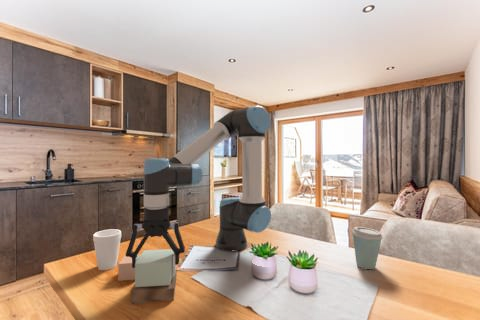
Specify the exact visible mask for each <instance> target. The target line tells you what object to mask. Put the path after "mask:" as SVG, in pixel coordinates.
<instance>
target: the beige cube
mask: <svg viewBox="0 0 480 320" xmlns="http://www.w3.org/2000/svg"><path fill="white" fill-rule="evenodd" d="M141 254H142V253H140V254H139V253H138V255H140V256H141ZM117 266H118V269H117V272H118V273H117V276H118V279H117V280H118V282H120V281H135V268H132V258H131V257H126V254H125V255H123V257H122V258H121V260H120V261H119V263H117Z"/></svg>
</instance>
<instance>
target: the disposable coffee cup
mask: <svg viewBox="0 0 480 320" xmlns="http://www.w3.org/2000/svg"><path fill="white" fill-rule="evenodd" d="M352 238H353V245H354V253H355V254H354V255H355V262H356V266H357V267H359V268H360V267H361V268H360V269H362V268H364V269H363V270H365V269H374V270H375V269H376V266H377V261H378V257H379V253H380V252H379V251H380V247H381V244H382V240H383V234H382V233H381V231H379V230H376V229H373V228H369V227H364V226H355V227H354V228H353V229H352Z"/></svg>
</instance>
